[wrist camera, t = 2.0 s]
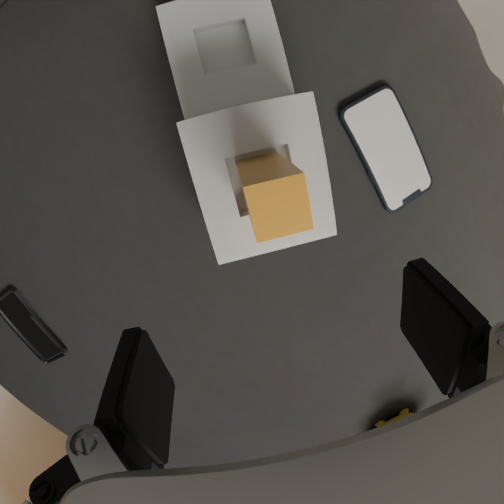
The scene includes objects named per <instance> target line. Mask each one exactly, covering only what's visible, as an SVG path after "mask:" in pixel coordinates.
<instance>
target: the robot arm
mask: <svg viewBox="0 0 504 504" xmlns="http://www.w3.org/2000/svg"><path fill="white" fill-rule="evenodd" d="M488 323H489V321H488V320H487V319H486V318H485V317H484V316H483V315H482V314H481V313H480V312H479V311H478V310H477V309H476V308H475V307H474V306H473V305H472V304H471V303H470V302H469V301H468V300H467V299H466V298H465V297H464V296H463V295H462V294H461V293H460V292H459V291H458V290H457V289H456V288H455V287H454V286H453V285H452V284H451V283H450V282H449V281H448V280H447V279H446V278H444V277H443V276H442V275H441V274H440V273H439V272H438V271H437V270H436V269H435V268H434V267H433V266H432V265H430V264H429V263H428V262H427V261H426V260H425V259H424V258H419V259H416V260H412V261H409V262H408V263H407V266H406V267H404V270H403V291H402V308H401V321H400V326H401V330H402V332H403V334H404V335H405V337H406V338H407V340H408V341H409V343H410V344H411V346H412V347H413V349H414V350H415V352H416V353H417V355H418V356H419V358H420V359H421V361H422V362H423V364H424V366H425V367H426V369H427V370H428V372H429V373H430V375H431V376H432V378H433V380H434V381H435V383H436V384H437V386H438V387H439V389H440V391H441V392H442V394H444V395H446V394H447V395H448V397H449V399H447V400H444V401H442V402H440V403H438V404H435V405H433V406H431V407H429V408H426V409H424V410H422V411H419V412H417V413H415V414H412V415H410V416H407V417H405V418H402V419H400V420H397V421H394V422H392V423H389V424H386V425H383V426H381V427H378V428H375V429H372V430H369V431H366V432H363V433H360V434H357V435H354V436H350V437H347V438H344V439H340V440H337V441H333V442H330V443H326V444H322V445H319V446H315V447H311V448H307V449H302V450H298V451H294V452H289V453H284V454H280V455H274V456H269V457H264V458H258V459H252V460H246V461H240V462H233V463H225V464H217V465H208V466H197V467H185V468H172V469H164V464H167V462H168V456H169V443H170V432H171V421H172V411H173V401H174V391H175V384H174V381H173V378H172V377H171V375H170V373H169V371H168V370H167V368H166V366H165V364H164V363H163V361H162V359H161V357H160V355H159V354H158V352H157V350H156V348H155V346H154V344H153V342H152V341H151V339H150V337H149V335H148V333H147V331H146V330H142V329H141V328H140V327H135V328H130V329H125V330H124V331H123V333H122V336H121V338H120V341H119V344H118V347H117V350H116V353H115V356H114V359H113V362H112V365H111V368H110V371H109V374H108V377H107V380H106V383H105V387H104V390H103V393H102V396H101V400H100V403H99V407H98V410H97V413H96V417H95V421H94V424H93V425H91V424H85V425H81V426H79V427H77V428H76V429H75V430H73V431H72V432H71V434H70V435H69V436H68V439H67V441H66V451H67V455H65V456H64V457H63V458H62V459H60V460H59V461H58V462H56V463H55V464H54V465H53V466H51V467H50V468H48V469H47V470H46V471H44V472H43V473H41V474H40V475H39V476H37V477H36V478H35V479H34V480H33V482H32V483H31V485H30V489H29V497H30V501H29V502H28V501H27V500H25V501H24V502H23V504H504V322H500V323H497V324H496V325H494V326H493V327H491V326H490V325H489V324H488Z"/></svg>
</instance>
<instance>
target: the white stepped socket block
mask: <svg viewBox="0 0 504 504" xmlns="http://www.w3.org/2000/svg"><path fill="white" fill-rule="evenodd" d="M156 10H157V15H158V19H159V23H160V27H161V31H162V35H163V39H164V43H165V47H166V51H167V55H168V59H169V63H170V66H171V70H172V74H173V78H174V82H175V86H176V89H177V93H178V97H179V101H180V104H181V108H182V112H183V115H184V119H185V120H182V121H179V122H177V123H176V124H177V127H178V131H179V135H180V138H181V142H182V145H183V149H184V152H185V156H186V159H187V163H188V166H189V169H190V173H191V176H192V180H193V183H194V186H195V190H196V193H197V197H198V200H199V203H200V207H201V210H202V213H203V216H204V220H205V223H206V226H207V229H208V233H209V236H210V239H211V242H212V245H213V249H214V252H215V255H216V258H217V261H218V264H219V265H221V264H225V263H229V262H233V261H237V260H240V259H244V258H248V257H252V256H256V255H260V254H264V253H268V252H272V251H276V250H280V249H284V248H288V247H292V246H295V245H299V244H303V243H307V242H311V241H315V240H319V239H323V238H327V237H331V236H334V235H337V230H336V222H335V215H334V207H333V200H332V193H331V187H330V180H329V174H328V168H327V162H326V156H325V150H324V144H323V139H322V134H321V128H320V123H319V118H318V113H317V108H316V103H315V99H314V94H313V92H306V93H298V94H294V89H293V85H292V81H291V76H290V72H289V68H288V64H287V60H286V56H285V52H284V48H283V44H282V40H281V36H280V33H279V29H278V25H277V22H276V18H275V14H274V11H273V7H272V4H271V1H270V0H175V1H171V2H168V3H165V4H161V5H158V6H156ZM275 151H277V152H279V153H280V154H281V155H282V156H284V157H285V158H286V159H288V160H289V161H290V162H291V163H293V164H294V165H295V166H296V167H298V168H299V169H300V170H301V171H303V172H304V175H305V180H306V186H307V191H308V197H309V203H310V209H311V215H312V221H313V227H314V229H311V230H307V231H303V232H299V233H295V234H291V235H287V236H283V237H280V238H276V239H272V240H268V241H264V242H260V243H257V241H256V238H255V234H254V231H253V227H252V224H251V220H250V217H249V213H248V210H247V206H246V203H245V199H244V195H243V191H242V187H241V183H240V179H239V175H238V171H237V167H236V163H235V161H237V160H241V159H245V158H249V157H254V156H258V155H262V154H266V153H271V152H275Z"/></svg>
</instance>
